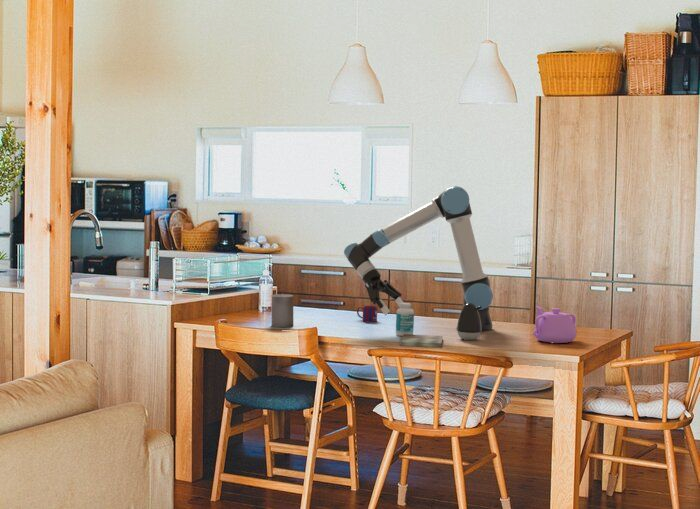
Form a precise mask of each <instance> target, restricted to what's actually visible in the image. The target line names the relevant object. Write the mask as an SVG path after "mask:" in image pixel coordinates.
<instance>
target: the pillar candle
mask: <svg viewBox="0 0 700 509" xmlns="http://www.w3.org/2000/svg"><path fill="white" fill-rule="evenodd" d="M271 327H273V328H291V327H294V295H293V294H289V293H276V294H271Z"/></svg>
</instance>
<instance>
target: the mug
mask: <svg viewBox="0 0 700 509" xmlns="http://www.w3.org/2000/svg"><path fill="white" fill-rule="evenodd" d="M360 309H362V316H361V315H360V314H359V313H360V312H359V311H360ZM356 314H357V317H358V318H360V319H362V322H364V323H377V322H378V306H375V305H363V306H359V307H358V308H357V310H356Z"/></svg>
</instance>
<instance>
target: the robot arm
mask: <svg viewBox="0 0 700 509" xmlns="http://www.w3.org/2000/svg"><path fill="white" fill-rule="evenodd" d="M472 215H473V213H472V207H471V204H470V196H469V194H468V191H466V190H465V189H464V188H463V187H461V186H457V185H453V186H450V187H448V188H446V189H445V190H444V191H442V192H441V193H440V194H439V195H437V196H436V197H434V198H432V200H431V202H429V203H427V204H425V205H423V206H421V207H420V208H418V209H416V210H415V211H412V212H411V213H408V214H406V215H405V216H403V217H401V218H399V219H397V220H395V221H394V222H392V223H390V224H388V225H386V226H385V227H383V228H381V229H380V228H379V229H377V230H375V231H374V232H372V233H371V234H370V235H369V236H367V237H366V238H365V239H364V240H363V241H361V242H360V243H357V242H355V241H354V242H352V243H349V244H348V245H347V246H346V247H345V248H344V251H343V254H344V256H345V257H346V259H347V261H348V262H349V263H350V264H351V266H352V268H353V269H354V270H355V271H356V273H357V274H358V276H359V277H360V278H361V279H362V281H363V283H364V287H365V289H366V290H367V293H368V297H369V301H370V302H371V303H372V304H373V305H377V307H378V308H379V309H380V310H381V312H382V313H383V314H384V316H387V315H388V314H389V313H390V312H391V310H390V309H389V308H388V306H387V304H386V303H385V302H384V301H383V299H380V292H382V293H384V294H386V295H387V296H388V297H390V298H392V299H394V302H395V303H396V305H397V307H399V308H400V303H405V302H404V301H403V300H402V298H401V296H402V295H403V294H402V293H401V292H400V291H399V290H397V289H396V288H395V287H394V286H393V285H392V284H390V283H389V281H388V280H387V279H384V280H381V274H380V272H379V271H378V269H377V268H376V267H375V265H374V264H373V263H372V261H371V260H370V258H371V257H372V256H374V255H375V254H377V253H378V252H379V251H381V250H382V249H383V248H385V247H386V246H388V245H390V244H392V243H393V242H395V241H397V240H399V239H400V238H403V237H405V236H406V235H409V234H410V233H412V232H414V231H416V230H418V229H419V228H421V227H423V226H425V225H427V224H430V223H431V222H433V221H435V220H437V219H439V218H442V219H444V218H445V221H446V222H448V223H449V224H450V227H451V231H452V236H453V240H454V244H455V248H456V253H457V257H458V260H459V264H460V269H461V272H462V278H461V281H460V282H461V286H462V287H461V288H462V291H463V292H462V293H463V295H462V308H463V307H464V305H465V304H467V303H472V304H474V305H475V306H476V307H478V306H482V308H481V309H479V310H478V312H479V316H480V320H481V328H482V331H481V332H485V331H486V332H487V331H488V332H489V331H492V330H493V321H492V319H491V318H492V317H491V315H490V305H491V303H492V301H493V300H494V299H493V298H494V294H493V290H492V289H491V280H490V278H489V277H488V275H487V274H486V273H484V271H483V268H482V263H481V259H480V255H479V250H478V247H477V243H476V239H475V235H474V231H473V230H474V229H473V227H472V226H473V225H472V222H471V217H472Z"/></svg>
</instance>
